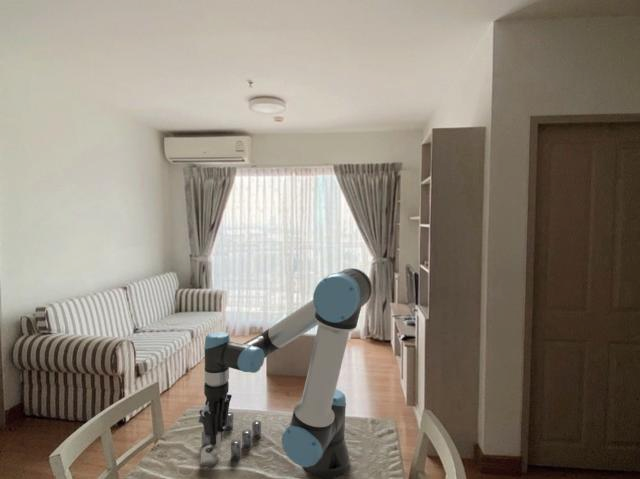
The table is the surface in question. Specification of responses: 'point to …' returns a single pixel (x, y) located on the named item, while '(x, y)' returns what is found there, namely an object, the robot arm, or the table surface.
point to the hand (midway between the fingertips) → (215, 451)
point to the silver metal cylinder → (209, 456)
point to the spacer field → (237, 443)
